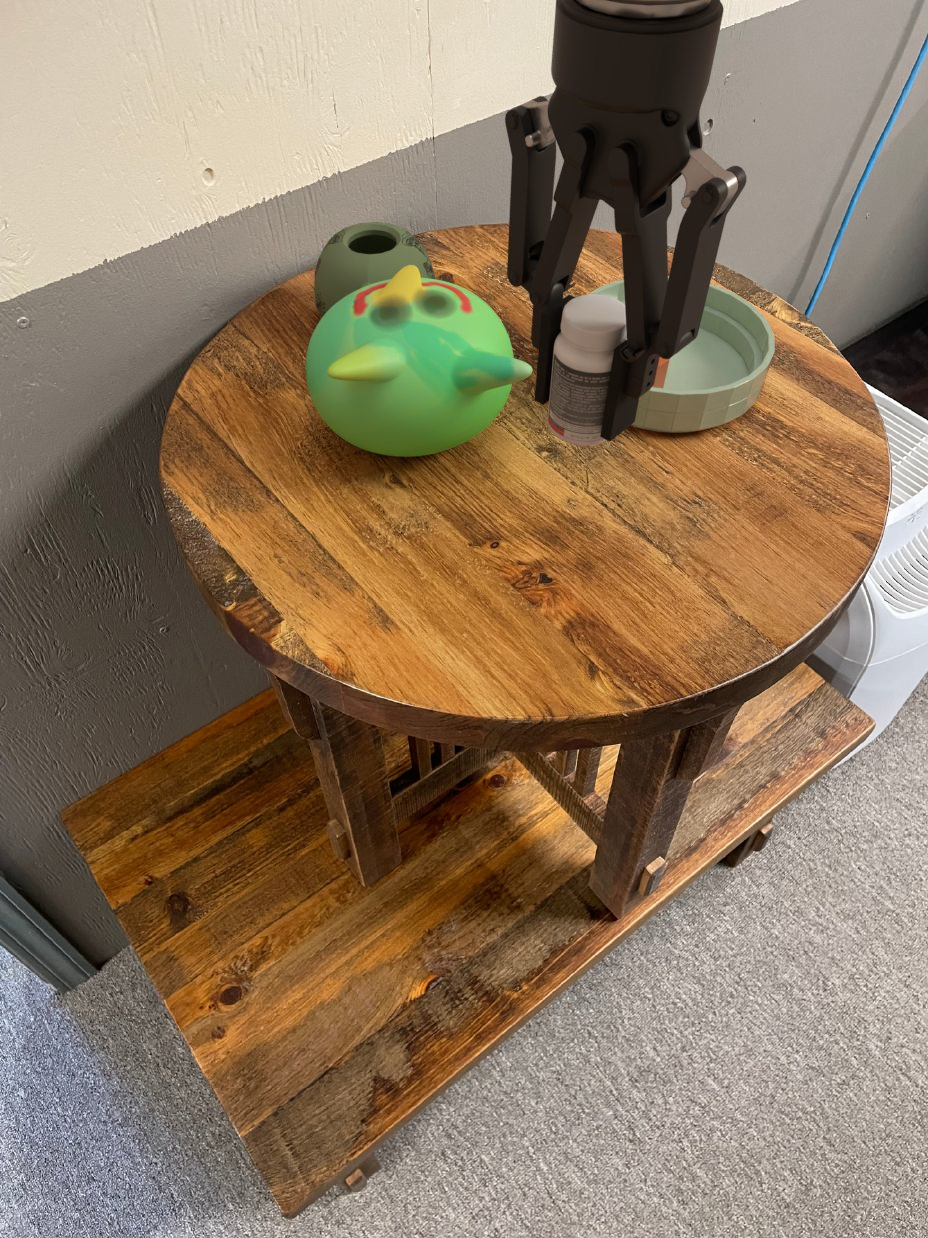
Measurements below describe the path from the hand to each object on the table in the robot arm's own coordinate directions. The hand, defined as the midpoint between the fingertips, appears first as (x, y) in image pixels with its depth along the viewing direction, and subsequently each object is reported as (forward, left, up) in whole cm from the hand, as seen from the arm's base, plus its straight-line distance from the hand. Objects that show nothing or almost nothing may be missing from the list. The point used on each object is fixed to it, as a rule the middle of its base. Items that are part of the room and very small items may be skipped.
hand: (584, 410), depth 57 cm
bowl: (+9, -28, -16) cm, 33 cm away
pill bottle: (0, 0, -1) cm, 1 cm away
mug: (+36, -15, -17) cm, 42 cm away
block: (+8, -22, -16) cm, 28 cm away
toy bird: (+21, -5, -17) cm, 27 cm away
